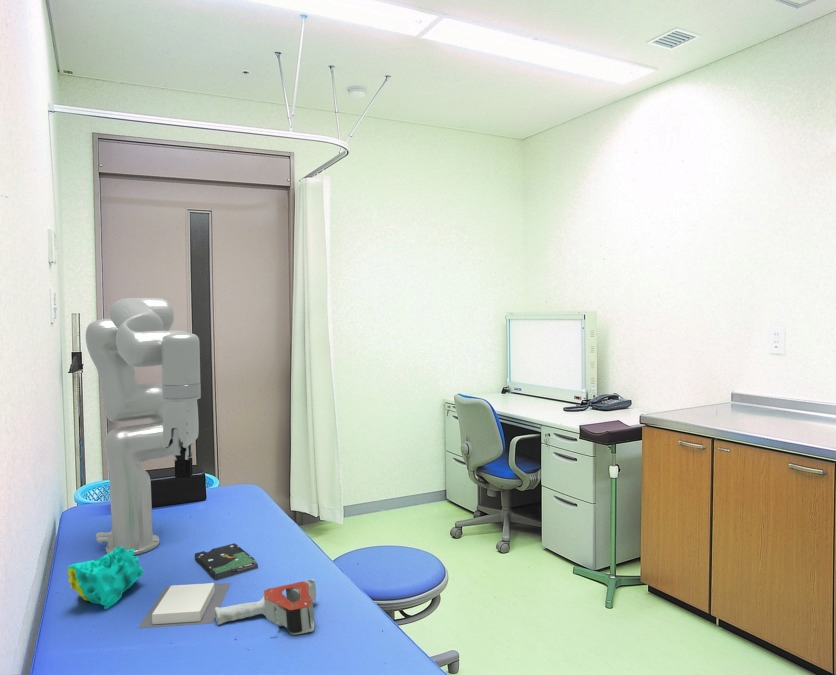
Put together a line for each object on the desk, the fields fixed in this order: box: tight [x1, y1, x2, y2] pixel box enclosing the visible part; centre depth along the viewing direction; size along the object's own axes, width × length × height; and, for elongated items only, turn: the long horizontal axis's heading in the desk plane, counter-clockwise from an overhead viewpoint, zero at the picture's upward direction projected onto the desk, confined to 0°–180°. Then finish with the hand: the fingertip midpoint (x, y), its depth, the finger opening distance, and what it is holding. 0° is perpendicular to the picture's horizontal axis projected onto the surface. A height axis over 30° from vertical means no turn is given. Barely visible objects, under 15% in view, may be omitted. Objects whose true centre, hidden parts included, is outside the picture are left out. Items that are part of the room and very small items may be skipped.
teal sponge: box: [66, 546, 145, 610], centre depth 128 cm, size 15×12×13 cm
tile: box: [152, 582, 216, 624], centre depth 122 cm, size 9×2×12 cm
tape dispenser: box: [214, 578, 317, 636], centre depth 119 cm, size 18×5×20 cm
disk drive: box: [194, 543, 259, 581], centre depth 143 cm, size 10×3×15 cm
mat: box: [137, 582, 231, 629], centre depth 124 cm, size 14×17×1 cm
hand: (183, 476), depth 128 cm, fingers closed
